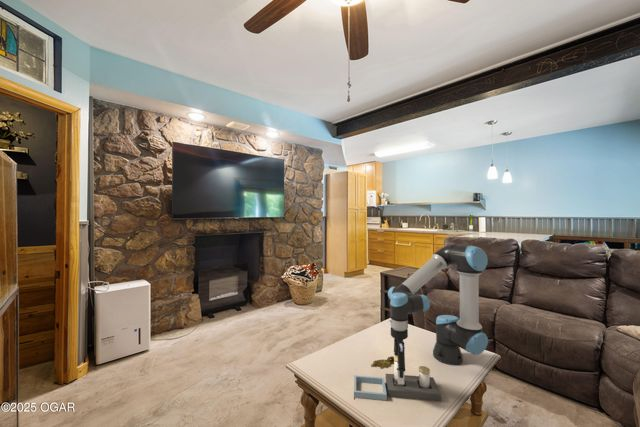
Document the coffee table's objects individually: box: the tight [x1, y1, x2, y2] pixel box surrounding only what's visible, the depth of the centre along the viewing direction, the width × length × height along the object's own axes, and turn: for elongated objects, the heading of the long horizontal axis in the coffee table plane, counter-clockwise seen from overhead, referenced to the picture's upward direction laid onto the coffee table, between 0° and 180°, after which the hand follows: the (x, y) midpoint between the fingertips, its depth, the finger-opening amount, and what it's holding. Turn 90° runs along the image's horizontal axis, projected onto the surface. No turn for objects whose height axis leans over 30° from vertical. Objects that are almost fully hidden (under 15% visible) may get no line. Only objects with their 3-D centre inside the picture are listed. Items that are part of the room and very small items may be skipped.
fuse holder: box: [385, 373, 442, 403], centre depth 120 cm, size 22×12×4 cm, turn 82°
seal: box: [370, 356, 395, 370], centre depth 141 cm, size 9×5×15 cm
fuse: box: [418, 365, 431, 389], centre depth 120 cm, size 5×5×10 cm
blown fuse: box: [393, 355, 404, 386], centre depth 121 cm, size 5×5×14 cm
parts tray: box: [353, 375, 388, 401], centre depth 121 cm, size 14×12×3 cm
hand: (399, 376), depth 121 cm, fingers open, 9 cm apart
